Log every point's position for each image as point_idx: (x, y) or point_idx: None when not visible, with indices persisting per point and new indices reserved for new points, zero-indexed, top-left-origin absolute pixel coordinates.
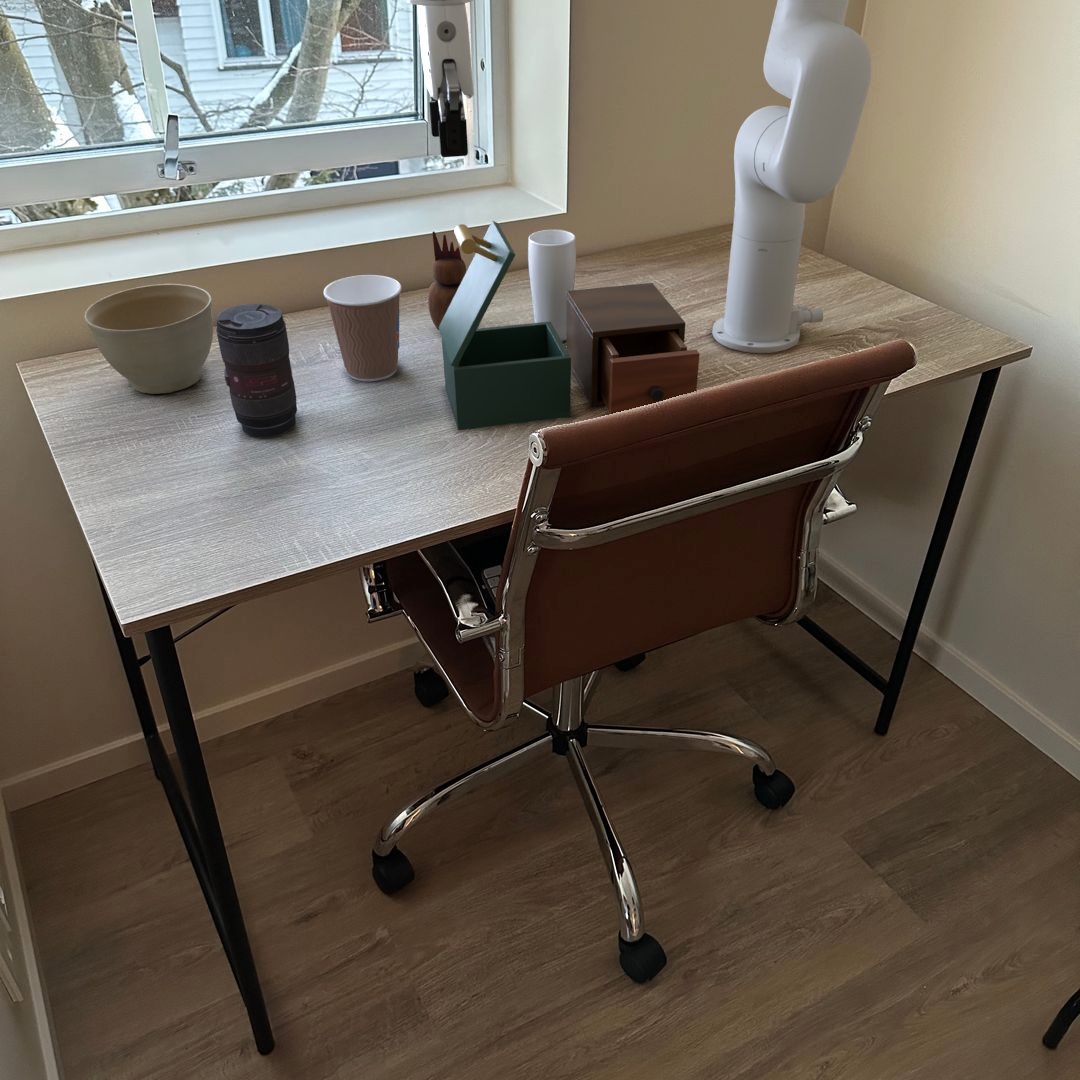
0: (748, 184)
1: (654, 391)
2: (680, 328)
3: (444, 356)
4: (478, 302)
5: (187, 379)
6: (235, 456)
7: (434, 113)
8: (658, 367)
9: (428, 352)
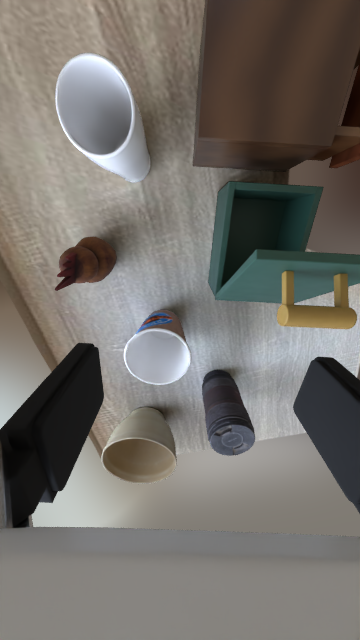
0: None
1: None
2: None
3: None
4: (319, 290)
5: (161, 416)
6: (243, 394)
7: (76, 451)
8: None
9: (142, 283)
